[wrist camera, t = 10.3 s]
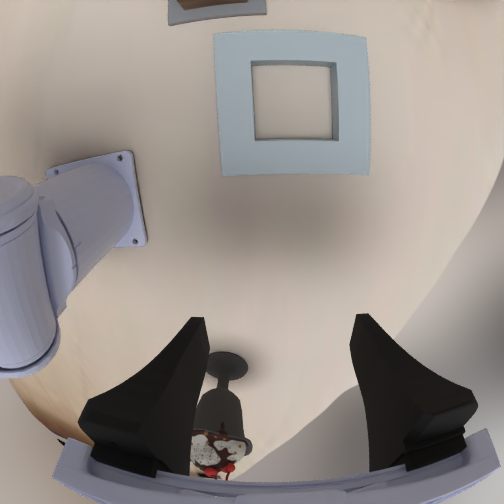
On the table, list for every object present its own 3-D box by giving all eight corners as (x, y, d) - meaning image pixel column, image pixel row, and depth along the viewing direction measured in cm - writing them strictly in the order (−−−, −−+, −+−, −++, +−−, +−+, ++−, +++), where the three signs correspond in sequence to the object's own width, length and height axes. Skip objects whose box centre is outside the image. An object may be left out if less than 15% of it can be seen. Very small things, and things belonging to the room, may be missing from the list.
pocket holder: (225, 171, 20) (222, 176, 18) (217, 40, 15) (213, 33, 14) (360, 170, 19) (369, 175, 18) (357, 43, 15) (366, 37, 13)
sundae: (265, 357, 28) (264, 492, 15) (241, 388, 31) (232, 503, 18) (206, 337, 27) (176, 477, 14) (189, 372, 30) (162, 489, 17)
